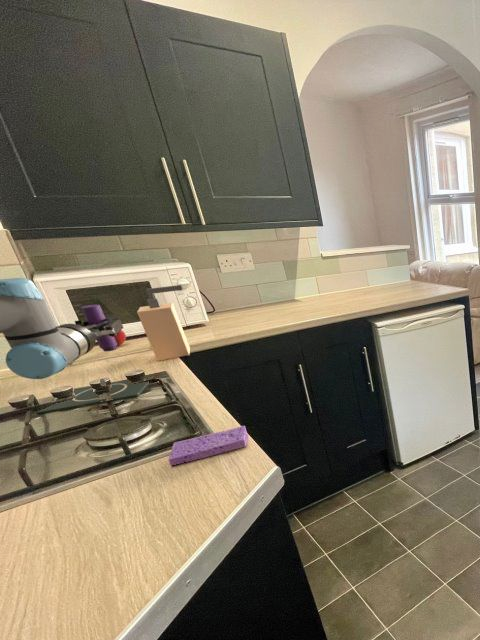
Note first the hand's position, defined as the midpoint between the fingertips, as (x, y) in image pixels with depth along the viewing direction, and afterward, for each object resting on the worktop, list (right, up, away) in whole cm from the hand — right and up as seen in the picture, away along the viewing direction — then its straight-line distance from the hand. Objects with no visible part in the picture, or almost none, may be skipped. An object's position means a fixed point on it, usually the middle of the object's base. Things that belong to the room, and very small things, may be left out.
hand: (106, 320), depth 115 cm
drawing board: (+1, -20, -3) cm, 21 cm away
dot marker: (+3, -8, -2) cm, 9 cm away
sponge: (+51, -31, -31) cm, 68 cm away
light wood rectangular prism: (0, -7, +26) cm, 28 cm away
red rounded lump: (-32, -4, +38) cm, 50 cm away
